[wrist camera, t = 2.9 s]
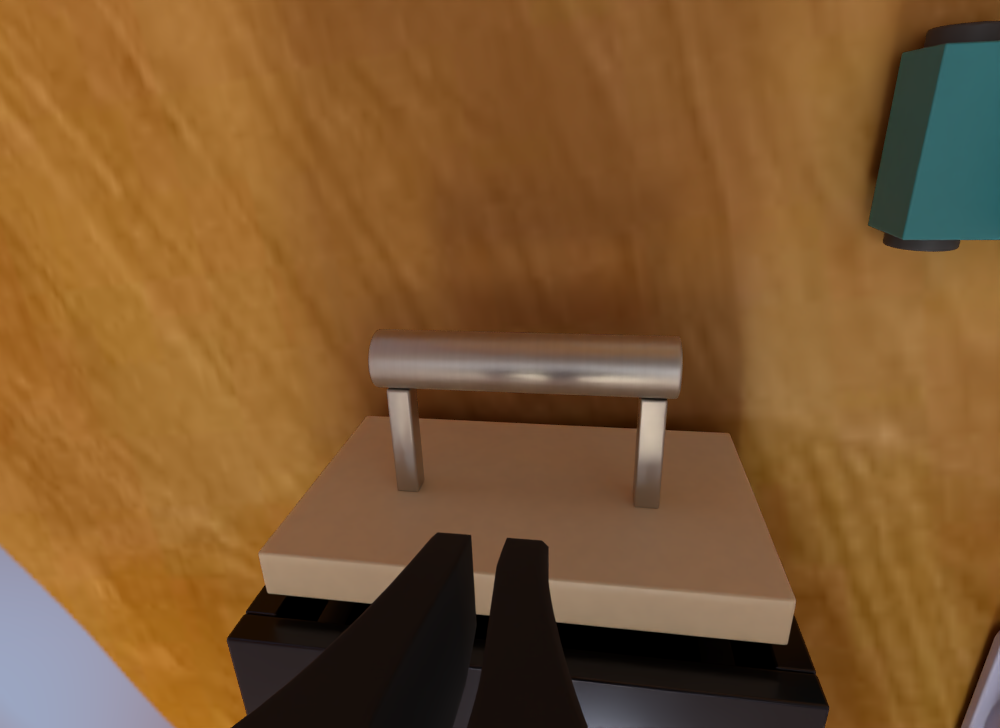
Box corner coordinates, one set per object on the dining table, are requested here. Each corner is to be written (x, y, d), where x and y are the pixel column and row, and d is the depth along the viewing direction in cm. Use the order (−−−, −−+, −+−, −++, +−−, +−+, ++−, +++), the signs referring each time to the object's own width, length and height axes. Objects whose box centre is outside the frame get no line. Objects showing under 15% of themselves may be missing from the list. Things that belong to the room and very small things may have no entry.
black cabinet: (364, 445, 21) (224, 639, 13) (738, 466, 19) (831, 708, 11) (403, 731, 27) (319, 987, 19) (695, 770, 25) (739, 1074, 17)
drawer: (349, 287, 18) (216, 377, 12) (748, 292, 16) (838, 401, 10) (404, 706, 25) (336, 904, 18) (689, 742, 23) (721, 975, 17)
